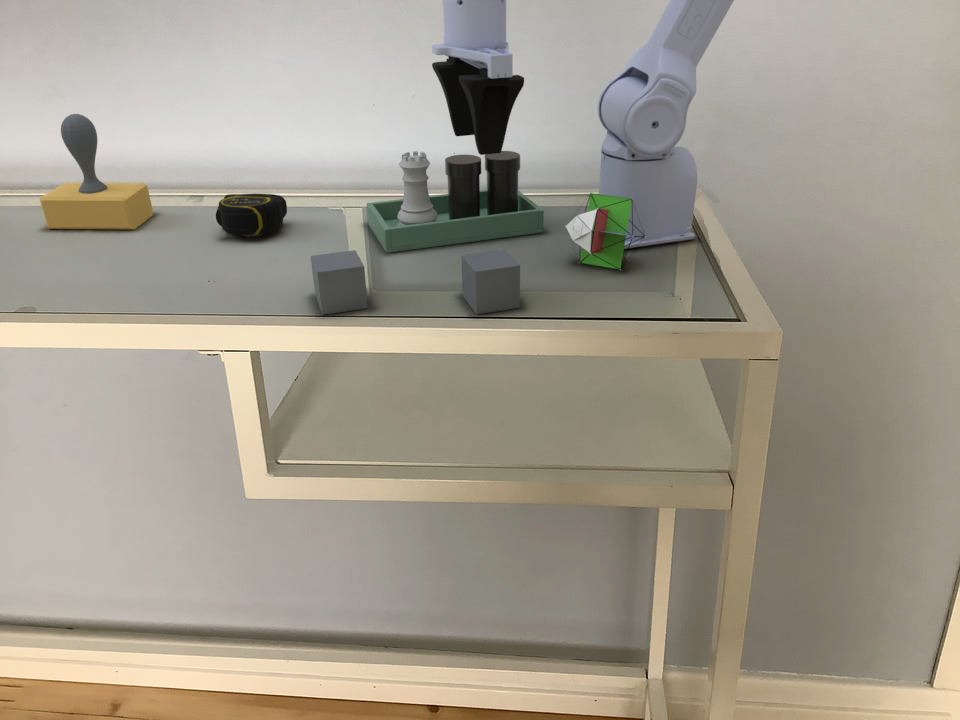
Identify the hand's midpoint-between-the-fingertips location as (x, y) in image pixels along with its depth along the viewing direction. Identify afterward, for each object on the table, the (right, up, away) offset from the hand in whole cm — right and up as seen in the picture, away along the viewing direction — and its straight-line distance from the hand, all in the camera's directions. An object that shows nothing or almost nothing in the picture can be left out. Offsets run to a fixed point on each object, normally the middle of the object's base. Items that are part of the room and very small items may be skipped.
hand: (477, 143), depth 79 cm
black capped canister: (+3, -5, +11) cm, 12 cm away
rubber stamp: (-43, -5, +13) cm, 45 cm away
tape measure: (-25, -7, +10) cm, 28 cm away
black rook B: (-1, -6, +9) cm, 11 cm away
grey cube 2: (+1, -16, -8) cm, 18 cm away
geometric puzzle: (+12, -12, 0) cm, 17 cm away
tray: (-3, -7, +9) cm, 12 cm away
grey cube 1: (-12, -16, -7) cm, 21 cm away
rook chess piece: (-6, -7, +8) cm, 13 cm away
